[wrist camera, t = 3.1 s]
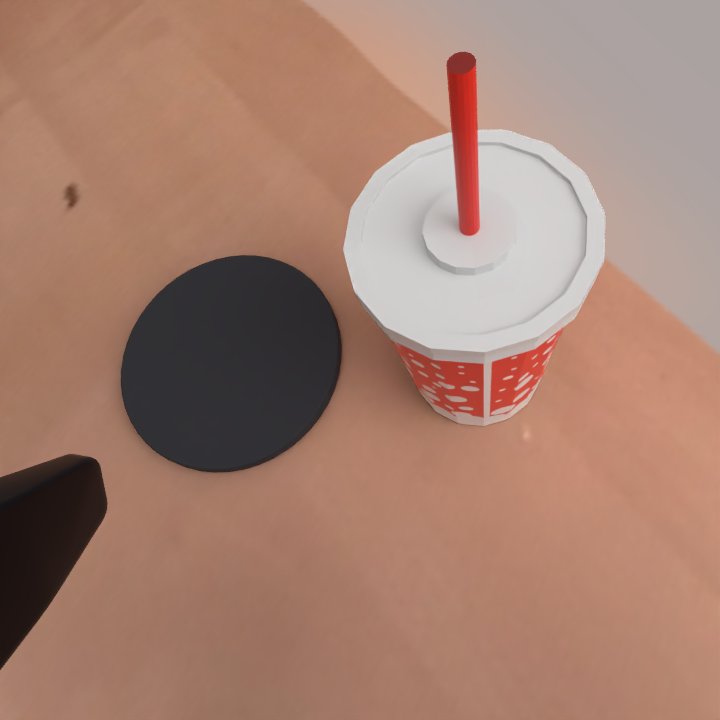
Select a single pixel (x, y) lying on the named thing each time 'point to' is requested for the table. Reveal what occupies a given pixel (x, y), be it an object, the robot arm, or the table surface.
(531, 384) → the beverage cup
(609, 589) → the table surface
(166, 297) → the coaster
